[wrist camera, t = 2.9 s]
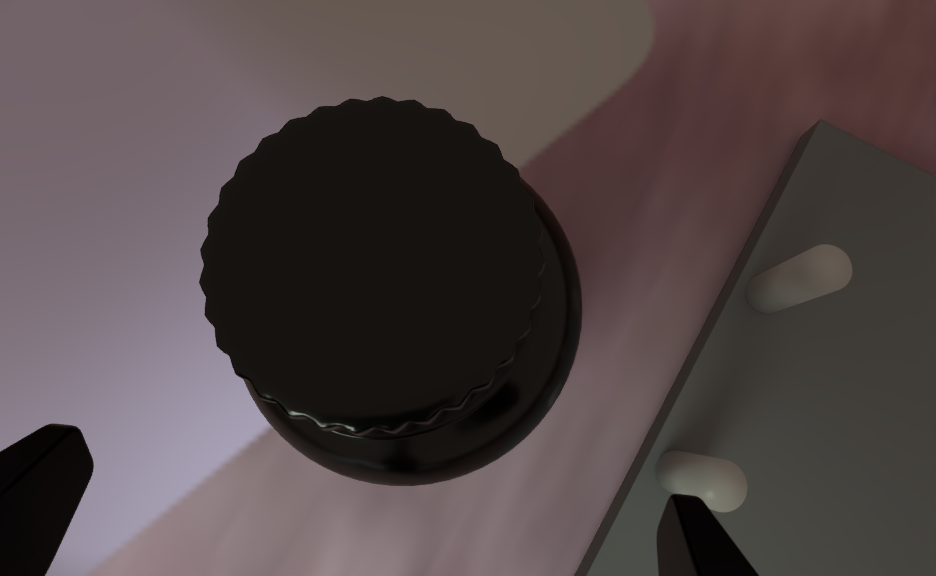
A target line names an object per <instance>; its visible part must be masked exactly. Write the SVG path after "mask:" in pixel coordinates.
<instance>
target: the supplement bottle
mask: <svg viewBox="0 0 936 576" xmlns="http://www.w3.org/2000/svg"><path fill="white" fill-rule="evenodd" d="M219 198H220V199H219V203H218V205H217V206H216V208H215V209H214V210H213V211H212V213H211V214H210V216H209V217H208V236H207V237H206V239H205V241H204V243H203V245H202V247H201V249H200V251H201V256H202V259H203V263H204V267H203V270H202V274H201V277H200V281H199V283H200V286H201V288H202V291H203V292H204V294H205V296H206V303H205V316H206V318H207V319H208V320H209V322H210V323H211V324H213V326H214V327H215V337H216V343H217V347H218V348H219V349H221V350H222V351H223V352H224V353H225V354H228V355H229V356H230V359H231V363H232V366H233V368H234V371H235V374H236V375H237V376H239V377H241V378H242V379H244V381H245V384H246V386H247V388H248V390H249V392H250V395H251V396H252V398H253V400H254V401H255V403H256V405H257V407H258V408H259V410H260V411H261V413H262V414H263V415H264V417H265V418H266V419H267V421H268V422H269V423H270V424H271V426H272V427H273V428H274V429H275V430H276V431H277V432H278V433H279V434H280V435H281V436H282V437H283V438H284V439H285V440H286V441H287V442H288V443H289V444H290V445H292V446H293V447H294V448H295V449H296V450H298V451H299V452H300V453H302V454H303V455H305V456H306V457H307V458H309V459H310V460H312V461H314V462H316V463H317V464H319V465H321V466H323V467H324V468H327V469H329V470H331V471H333V472H336V473H338V474H340V475H343V476H346V477H349V478H352V479H355V480H359V481H364V482H368V483H373V484H380V485H390V486H416V485H426V484H433V483H438V482H442V481H447V480H451V479H454V478H457V477H460V476H463V475H466V474H469V473H471V472H473V471H476V470H478V469H480V468H482V467H484V466H486V465H488V464H490V463H492V462H493V461H495V460H497V459H499V458H500V457H502V456H503V455H504V454H506V453H507V452H509V451H510V450H512V449H513V448H514V447H515V446H517V445H518V444H519V443H520V442H521V441H522V440H524V439H525V438H526V437H527V436H528V435H529V434H530V433H531V432H532V431H533V430H534V429H535V428H536V426H537V425H538V424H539V423H540V422H541V421H542V419H543V418H544V417H545V415H546V414H547V413H548V412H549V410H550V409H551V407H552V406H553V404H554V403H555V401H556V399H557V398H558V396H559V395H560V393H561V391H562V389H563V387H564V385H565V383H566V381H567V379H568V376H569V373H570V371H571V368H572V365H573V363H574V360H575V356H576V352H577V348H578V345H579V339H580V332H581V324H582V292H581V285H580V278H579V273H578V269H577V265H576V261H575V258H574V255H573V252H572V249H571V246H570V244H569V242H568V239H567V237H566V235H565V233H564V231H563V229H562V227H561V225H560V224H559V222H558V220H557V219H556V217H555V215H554V214H553V212H552V211H551V210H550V208H549V207H548V206H547V204H546V203H545V202H544V200H543V199H542V198H541V197H540V196H539V195H538V194H537V193H536V191H535V190H534V189H533V188H532V187H531V186H530V185H528V184H527V183H526V182H525V181H524V180H523V179H522V178H521V177H520V175H519V171H518V169H517V168H515V167H514V166H513V165H512V164H510V163H509V162H507V161H505V160H504V159H503V156H502V154H501V151H500V149H499V147H498V145H497V144H495V143H493V142H491V141H489V140H486V139H484V138H482V137H481V136H480V135H479V133H478V131H477V130H476V128H475V127H474V126H473V125H472V124H469V123H466V122H461V121H456V120H455V119H454V118H453V117H452V116H451V114H449V113H448V112H447V111H446V110H444V109H436V108H426V107H425V106H423V105H422V104H421V103H419V102H418V101H416V100H405V101H398V102H397V101H395V100H393V99H390V98H387V97H383V96H381V97H377V98H374V99H372V100H369V101H363V100H359V99H349V100H347V101H345V102H343V103H341V104H340V105H338V106H322V107H318V108H317V109H315V110H314V111H313V112H312V113H311V114H309V115H308V116H306V117H301V118H296V119H292V120H289V121H288V122H287V123H286V124H285V125H284V126H283V128H282V129H281V130H280V131H279V132H278V133H275V134H272V135H269V136H267V137H265V138H263V139H262V141H261V142H260V143H259V145H258V147H257V149H256V150H255V152H254V153H252V154H250V155H249V156H247V157H245V158H244V159H242V160H241V161H240V162H239V164H238V166H237V169H236V172H235V175H234V177H233V178H232V179H230V180H229V181H228V182H227V183H226V184H225V185H224V186H223V187H222V188H221V191H220V195H219Z"/></svg>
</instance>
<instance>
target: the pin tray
mask: <svg viewBox="0 0 936 576" xmlns="http://www.w3.org/2000/svg"><path fill="white" fill-rule="evenodd" d="M672 494H684V495H693V496H697V497H699V498H701V499H702V500H703V501H704V502H705V504H706V505H707V506H708V508H709V509H710V510H711V512H712V513H713V514H714V516H715V517H716V519H717V520H718V521H719V523H720V524H721V525H722V527H723V528H724V529H725V531H726V532H727V533H728V535H729V536H730V537H731V539H732V540H733V541H734V543H735V544H736V545H737V547H738V548H739V549H740V551H741V552H742V553H743V555H744V556H745V557H746V559H747V560H748V561H749V563H750V564H751V565H752V567H753V568H754V569H755V571H756V572H757V573H758V575H759V576H936V176H934V175H932V174H930V173H928V172H926V171H924V170H922V169H920V168H917V167H915V166H913V165H911V164H909V163H907V162H905V161H903V160H901V159H899V158H897V157H895V156H893V155H891V154H889V153H887V152H885V151H883V150H881V149H879V148H877V147H875V146H873V145H871V144H869V143H867V142H865V141H863V140H861V139H859V138H857V137H855V136H853V135H851V134H849V133H847V132H845V131H843V130H841V129H839V128H837V127H834V126H832V125H830V124H828V123H826V122H824V121H822V120H819V121H818V122H817V123H816V124H815V125H814V126H812V127H811V128H810V129H809V130H808V131H807V132H805V133H804V134H803V135H802V136H801V138H800V140H799V142H798V144H797V146H796V148H795V150H794V152H793V154H792V156H791V157H790V159H789V161H788V163H787V165H786V167H785V169H784V171H783V173H782V175H781V177H780V179H779V181H778V183H777V185H776V187H775V188H774V190H773V192H772V194H771V196H770V198H769V200H768V202H767V204H766V206H765V208H764V210H763V212H762V214H761V216H760V218H759V219H758V221H757V223H756V225H755V227H754V229H753V231H752V233H751V235H750V237H749V239H748V241H747V243H746V245H745V247H744V249H743V250H742V252H741V254H740V256H739V258H738V260H737V262H736V264H735V266H734V268H733V270H732V272H731V274H730V276H729V278H728V280H727V281H726V283H725V285H724V287H723V289H722V291H721V293H720V295H719V297H718V299H717V301H716V303H715V305H714V307H713V309H712V311H711V312H710V314H709V316H708V318H707V320H706V322H705V324H704V326H703V328H702V330H701V332H700V334H699V336H698V338H697V340H696V342H695V344H694V345H693V347H692V349H691V351H690V353H689V355H688V357H687V359H686V361H685V363H684V365H683V367H682V369H681V371H680V373H679V375H678V376H677V378H676V380H675V382H674V384H673V386H672V388H671V390H670V392H669V394H668V396H667V398H666V400H665V402H664V404H663V406H662V407H661V409H660V411H659V413H658V415H657V417H656V419H655V421H654V423H653V425H652V427H651V429H650V431H649V433H648V435H647V437H646V438H645V440H644V442H643V444H642V446H641V448H640V450H639V452H638V454H637V456H636V458H635V460H634V462H633V464H632V466H631V468H630V469H629V471H628V473H627V475H626V477H625V479H624V481H623V483H622V485H621V487H620V489H619V491H618V493H617V495H616V497H615V499H614V500H613V502H612V504H611V506H610V508H609V510H608V512H607V514H606V516H605V518H604V520H603V522H602V524H601V526H600V528H599V530H598V531H597V533H596V535H595V537H594V539H593V541H592V543H591V545H590V547H589V549H588V551H587V553H586V555H585V557H584V559H583V561H582V562H581V564H580V566H579V568H578V570H577V572H576V574H575V576H659V573H658V558H657V543H656V537H657V528H658V525H659V522H660V520H661V517H662V514H663V512H664V509H665V506H666V504H667V501H668V499H669V497H670V496H671V495H672Z"/></svg>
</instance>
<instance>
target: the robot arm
mask: <svg viewBox="0 0 936 576" xmlns="http://www.w3.org/2000/svg"><path fill="white" fill-rule="evenodd" d="M93 466H94V465H93V459H92V456H91V454H90V452H89V449H88V447H87V444H86V442H85V439H84V437H83V434H82V432H81V430H80V429H79V428H77V427H76V426H72V425H63V424H49V425H46V426H44V427H42V428H40V429H38V430H36V431H35V432H33V433H31V434H30V435H28V436H26V437H24V438H23V439H21V440H19V441H18V442H16V443H14V444H13V445H11V446H9V447H7V448H6V449H4V450H3V451H1V452H0V576H45V574H46V573H47V571H48V569H49V567H50V565H51V563H52V561H53V559H54V557H55V555H56V553H57V551H58V548H59V546H60V544H61V542H62V540H63V537H64V535H65V533H66V531H67V529H68V527H69V525H70V522H71V520H72V518H73V516H74V514H75V511H76V509H77V507H78V505H79V503H80V501H81V498H82V496H83V494H84V492H85V490H86V488H87V485H88V483H89V480H90V479H91V476H92V472H93ZM656 543H657V558H658V573H659V576H759V575H758V573H757V572H756V571H755V569H754V568H753V567H752V565H751V564H750V563H749V561H748V560H747V559H746V557H745V556H744V555H743V553H742V552H741V551H740V549H739V548H738V547H737V545H736V544H735V543H734V541H733V540H732V539H731V537H730V536H729V535H728V533H727V532H726V531H725V529H724V528H723V527H722V525H721V524H720V523H719V521H718V520H717V519H716V517H715V516H714V514H713V513H712V512H711V510H710V509H709V508H708V506H707V505H706V504H705V502H704V501H703V500H702V499H701V498H699V497H697V496H693V495H684V494H672V495H671V496H670V497H669V499H668V501H667V504H666V506H665V509H664V512H663V514H662V517H661V520H660V522H659V525H658V528H657V537H656Z"/></svg>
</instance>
